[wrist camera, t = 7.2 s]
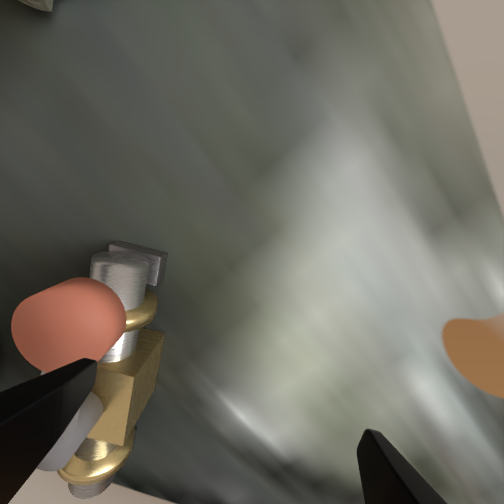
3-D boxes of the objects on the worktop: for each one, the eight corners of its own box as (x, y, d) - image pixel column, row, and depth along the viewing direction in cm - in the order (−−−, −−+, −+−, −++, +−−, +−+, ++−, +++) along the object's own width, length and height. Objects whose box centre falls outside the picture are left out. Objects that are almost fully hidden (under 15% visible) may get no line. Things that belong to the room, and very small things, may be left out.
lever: (110, 431, 18) (72, 491, 14) (49, 412, 18) (-5, 467, 14) (146, 282, 15) (109, 310, 12) (74, 259, 15) (15, 280, 12)
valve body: (143, 448, 26) (107, 524, 20) (84, 434, 26) (31, 505, 20) (179, 256, 21) (146, 281, 15) (107, 237, 21) (46, 255, 15)
